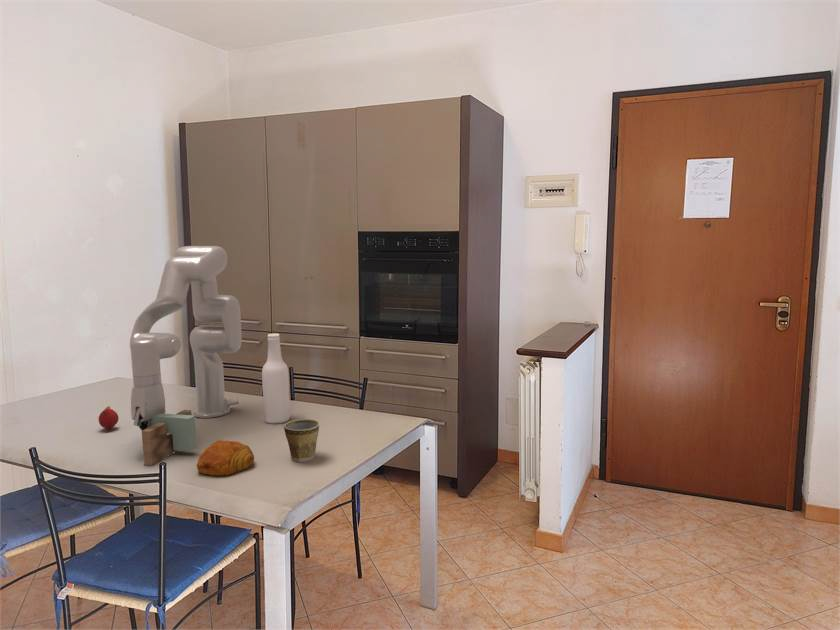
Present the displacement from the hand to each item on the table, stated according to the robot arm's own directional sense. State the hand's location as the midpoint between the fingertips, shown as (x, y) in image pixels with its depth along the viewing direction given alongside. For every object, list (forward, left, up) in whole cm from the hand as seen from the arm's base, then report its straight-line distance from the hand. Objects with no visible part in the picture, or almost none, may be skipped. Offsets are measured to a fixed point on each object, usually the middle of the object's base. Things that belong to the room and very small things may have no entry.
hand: (151, 439), depth 184 cm
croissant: (-15, +24, -4) cm, 28 cm away
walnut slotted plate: (-4, +4, -4) cm, 7 cm away
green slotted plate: (-4, +4, -2) cm, 6 cm away
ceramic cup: (-36, +28, -4) cm, 46 cm away
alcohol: (-41, -8, -4) cm, 42 cm away
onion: (+9, -29, -4) cm, 30 cm away
